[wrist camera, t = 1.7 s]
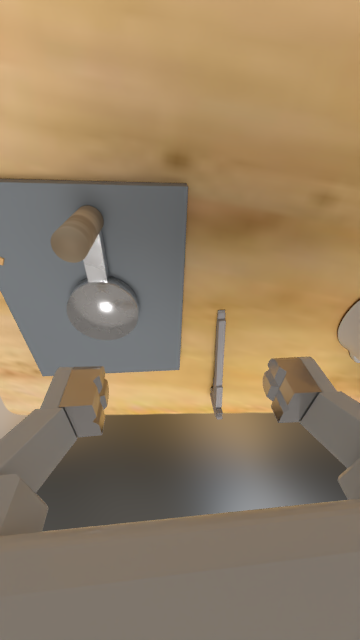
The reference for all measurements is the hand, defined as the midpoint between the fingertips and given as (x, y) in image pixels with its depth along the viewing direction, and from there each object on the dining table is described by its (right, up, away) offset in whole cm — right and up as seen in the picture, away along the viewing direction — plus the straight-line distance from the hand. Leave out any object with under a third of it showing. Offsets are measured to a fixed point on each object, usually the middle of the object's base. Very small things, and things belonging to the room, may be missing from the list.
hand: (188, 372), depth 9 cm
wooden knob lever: (-9, +7, +18) cm, 21 cm away
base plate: (-11, +5, +22) cm, 25 cm away
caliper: (+6, -4, +32) cm, 32 cm away
